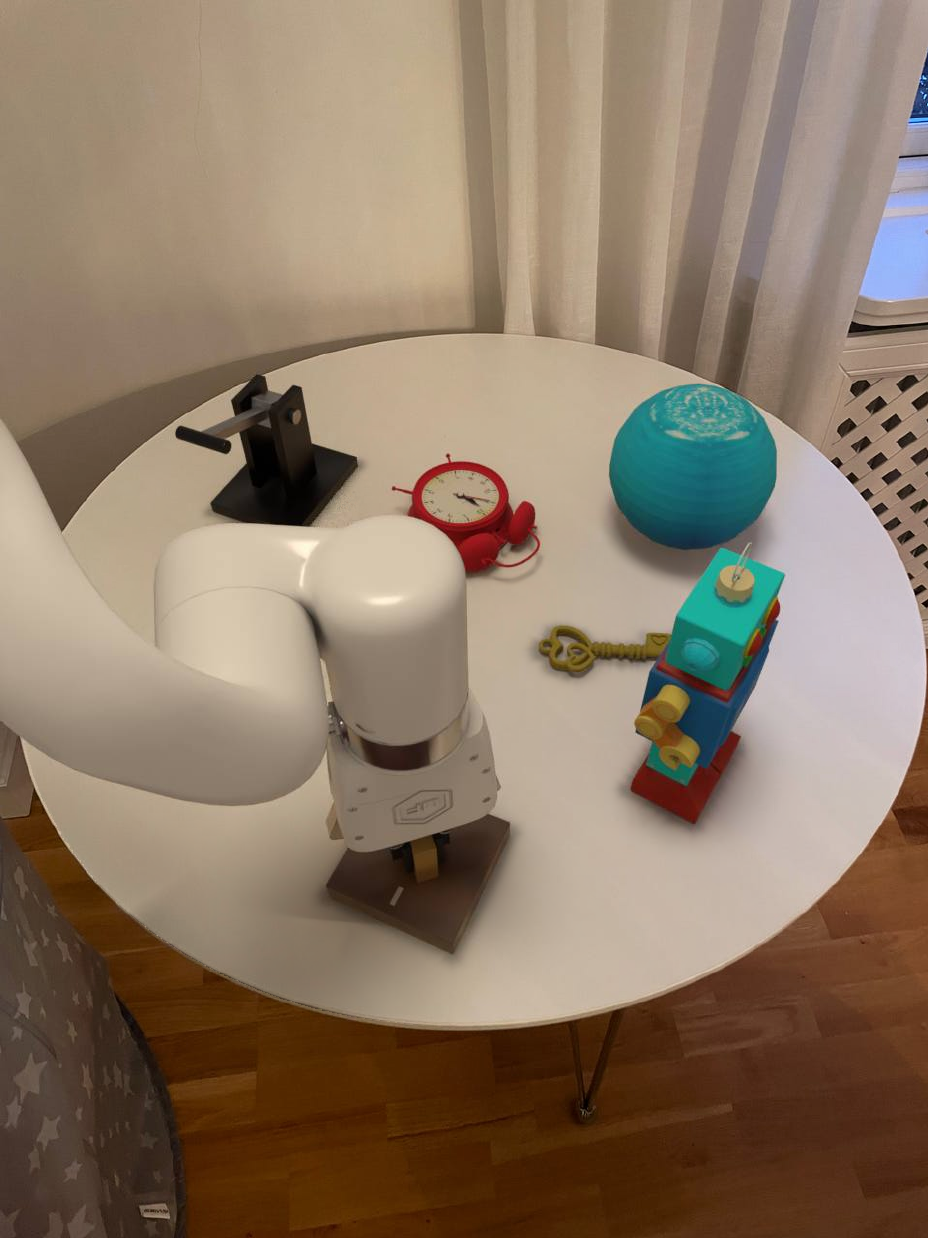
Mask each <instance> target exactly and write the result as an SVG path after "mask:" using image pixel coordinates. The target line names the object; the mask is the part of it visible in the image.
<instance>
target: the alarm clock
mask: <svg viewBox="0 0 928 1238" xmlns="http://www.w3.org/2000/svg"><path fill="white" fill-rule="evenodd" d="M450 457H451V454H450V453H446V454H445V458H447V461H448V462H444V463H441V464H438V465H435V466H433V467H431V468H430V469H428V470H426V471H424V473H423V474H421V475H420V476H419V478H417V480H416V482H415V484H414V486H413V489H412V490H409V489H402V488H398V487H396V486H395V485H393V486H392V487H391V491H392V492H395V491H398V492H401V493H403V494H408V495H411V505H410V507H409V509H408V513H407V516H409V517H414V518H417V519H420V520H423V521H425V522H427V523H429V524H431V525H433V526H435V527H436V528H437V529H439V530H440V531H442V532H443V533H444V534H446V536H447V537H448V538H449V539H450V540H451V541H452V542H453V544H454V545H455V547H456V548H457V550H458V552H459V554H460V555H461V558H462V561H463V564H464V567H465V572H468V573H476V572H481V571H483V570H485V569H488V568H489V567H490V566H492V565H493V564H494V565H495V566H499V567H502V568H514V567H518V566H520V565H523V564H524V563H526V562H528V561H529V560H531V558H533V557H534V556H535V555H536V554H537V553H538V551H539V550H540V548H541V542H540V539H539V537H538V536H537V534H535V533H534V531H533V530H537V529H538V526H537V525H535V521H536V509H535V506H534V505H533V504H532V503H531V502H530V501H527V500H523V501H521V503H519V505H518V506H517V507H516V509H515V511H513V508H512V505H511V504H510V502H509V501H510V494H509V490H508V487H507V484H506V482H505V480H504V479H503V478H502V476H501V475H500V474H499V473H498V472H497V471H495V470H494V469H492V468H490V467H489V466H486V465H484V464H481V463H478V462H473V461H465V460H463V461H462V460H460V461H459V460H458V461H457V460H456V461H452V460H451V458H450ZM530 535H531V536H532V537H533V538H534V539H535V541H536V543H537V544H536V548H535V550H534V551H533V552H532V553H531V554H529V556H527V557H525V558H524V559H522V560H521V561H517V562H515V563H511V564H504V563H500V562H497V559H498V557H499V553H500V548H501V547H502V546H504V545H505V544H507V543H509V544H510V545H514V546H520V545H522V544H523V543H525V542H526V541H527V540H528V538H529V537H530Z"/></svg>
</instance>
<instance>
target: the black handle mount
mask: <svg viewBox="0 0 928 1238" xmlns="http://www.w3.org/2000/svg"><path fill="white" fill-rule="evenodd" d="M268 390H269V387H268V382H267V377H266V376H265V375H261V374H258V373H256V374H255V375H254V376H253V377H252V378H251V379H250V380H249V381H248V382H246V384H245V385H244V386H243V387H242V388H241V389H240V390H239V391H238V392H237V393H236V394H235V395H234V396H233V397H232V398H231V399H230V402H231V407H232V410H233V414H234V416H237V415H239V414H241V413H243V412H245V411H248V410H250V409H252V397H255V396H257V395H259V394H262V393H264V392H266V391H268ZM282 394H283V395H282V396H281V398H280V399H279V400H278V401H277V402H276V403H275V404H274V405H273V406H272V407H271V408H270V409H269V410H268V416H269V420H270V425H271V428H269V427H266V426H263V425H259V424H255V425H253V426H251V427H249V428H247V429H245V430H243V431H241V432H238V434H239V439H240V441H241V447H242V449H243V454H244V458H245V462H246V463H245V464H244V465H243V466H242V467H241V468H240V470H239V471H237V473H236V474H235V475H234V476H233V477H232V478H231V479H230V480H229V481H228V482H227V484H226V485H225V486H224V487H223V488H222V489H220V491H219V492H218V493H217V495H216V496H214V498H213V499H212V500H211V501H210V503H209V504H210V507H211V511H212V512H214V513H216V514H218V515H222V516H225V517H228V518H231V519H234V520H237V521H239V522H241V523H253V524H270V525H286V526H302V527H311V525H312V524H313V523H314V521H315V520H316V519H317V517H319V515H320V514H321V513H322V511H323V510H324V509H325V508H326V506H327V505H328V504H329V502H330V501H331V500H332V499H333V498H334V496H335V495H336V494H337V492H338V491H340V489H341V488H342V486H344V484H345V483H346V481H347V480H348V479H349V478H350V476H351V475H352V474H353V473H354V471H355V470H356V469H357V467H358V466H359V464H358V458H357V456H354V455H351V454H349V453H345V452H342V451H339V450H335V449H332V448H329V447H326V446H322V445H320V444H316V443H312V437H311V432H310V425H309V420H308V415H307V409H306V403H305V398H304V393H303V387H302V386H300V385H297V384H292V385H291V386H290V387H289V388H288V389H287V390H286V391H285V392H284V393H282Z"/></svg>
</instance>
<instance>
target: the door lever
mask: <svg viewBox="0 0 928 1238" xmlns="http://www.w3.org/2000/svg"><path fill="white" fill-rule="evenodd" d="M283 394H284V393H279V392H275V391H273V390H269V389H268V391H266V392H264V393H262V394H259V395H257V396H255V397H252V409H250V410H248V411H245V412H243V413H241V414H239V415H237V416H235V415H234V416H232V417H230V418H228V419H226V420H223V421H220V422H219V423H217V424H214V425H212V426H210V427H207V428H206V429H203V430H201V431H200V430H197V429H194V428H190V427H187V426H184V425H178V426H177V427H176V429H175V431H174V435H175V438H176V440H180V441H183V442H185V443H189V444H192V445H194V446H199V447H201V448H205V449H208V450H210V451H214V452H217V453H220V454H224V455H228V454H229V453H231V450H232V442H231V441H230V440H228V438H231V437H232V436H234V435H237V434H239V432H241V431H243V430H245V429H247V428H249V427H251V426H253V425H255V424H259V425H263V426H266V427H269V428H271V425H270V420H269V416H268V410H269V409H270V408H271V407H272V406H273V405H274V404H275V403H276V402H277V401H278V400H279V399H280V398H281V396H282V395H283Z"/></svg>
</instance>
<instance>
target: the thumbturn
mask: <svg viewBox="0 0 928 1238" xmlns="http://www.w3.org/2000/svg"><path fill="white" fill-rule="evenodd" d="M410 845H411V850H412V857H413V865H414V874H415V877H416V880H417V883H420V882H423V881H426V880H430V879H433V878H436V877H439V873H438V862H437V850H436V846H435V843H434V839H433V836H432V835H428V836H425V837H422V838H418V839H415V840H412V841H410Z"/></svg>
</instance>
